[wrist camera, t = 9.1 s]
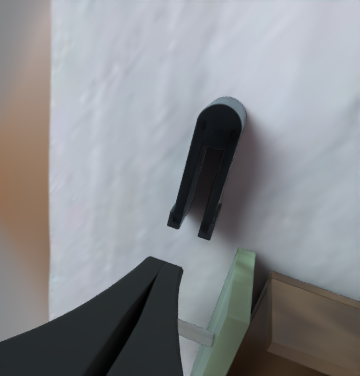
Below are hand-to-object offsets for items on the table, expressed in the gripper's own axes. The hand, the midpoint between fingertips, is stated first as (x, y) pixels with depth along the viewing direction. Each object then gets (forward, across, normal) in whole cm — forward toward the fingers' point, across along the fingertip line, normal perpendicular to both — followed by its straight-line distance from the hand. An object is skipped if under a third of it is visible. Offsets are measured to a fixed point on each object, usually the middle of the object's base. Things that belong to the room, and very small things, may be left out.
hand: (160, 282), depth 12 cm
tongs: (+10, 0, -1) cm, 10 cm away
